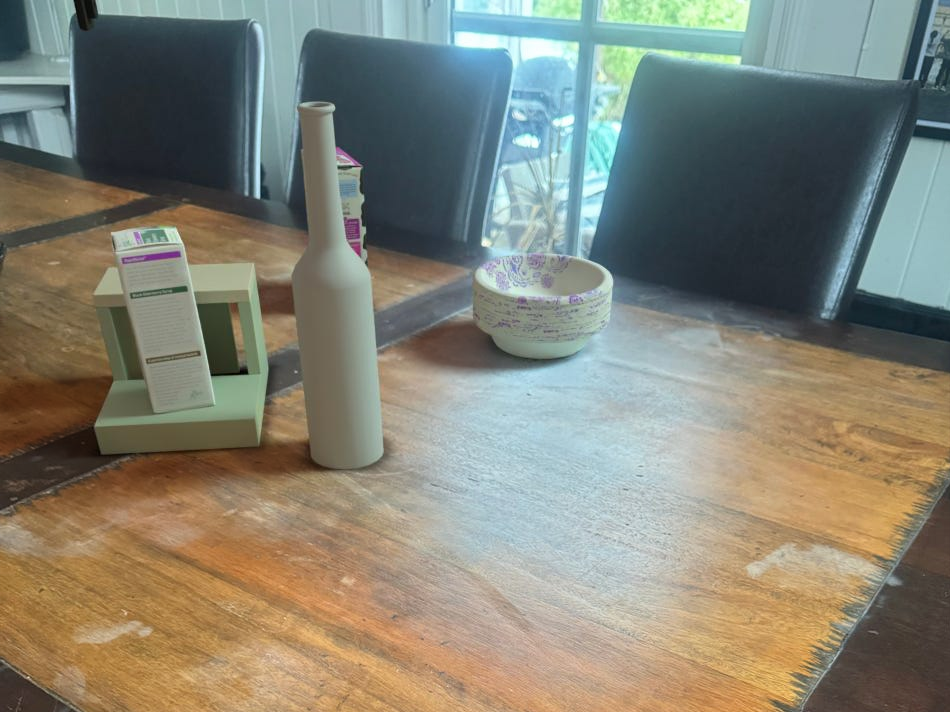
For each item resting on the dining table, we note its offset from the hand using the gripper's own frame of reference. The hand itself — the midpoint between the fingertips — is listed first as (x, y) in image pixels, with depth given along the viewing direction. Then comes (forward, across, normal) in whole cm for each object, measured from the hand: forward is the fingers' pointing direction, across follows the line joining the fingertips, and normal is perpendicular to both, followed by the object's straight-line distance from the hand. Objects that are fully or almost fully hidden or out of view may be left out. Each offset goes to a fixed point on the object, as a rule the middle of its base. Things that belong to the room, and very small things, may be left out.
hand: (31, 29), depth 84 cm
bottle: (+31, +25, -25) cm, 47 cm away
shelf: (+30, +10, -14) cm, 35 cm away
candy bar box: (+31, +25, +16) cm, 43 cm away
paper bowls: (+31, +47, -1) cm, 56 cm away
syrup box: (+28, +10, -18) cm, 34 cm away
